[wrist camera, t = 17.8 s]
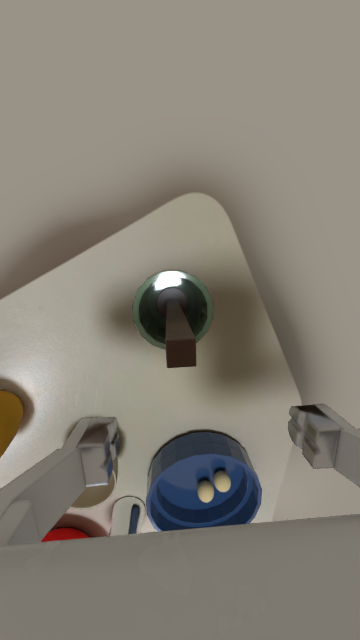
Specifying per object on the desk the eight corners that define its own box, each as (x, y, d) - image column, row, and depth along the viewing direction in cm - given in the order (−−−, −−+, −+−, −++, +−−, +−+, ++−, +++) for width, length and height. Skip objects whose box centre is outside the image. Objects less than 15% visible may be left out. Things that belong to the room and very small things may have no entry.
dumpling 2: (236, 482, 34) (229, 491, 32) (226, 489, 35) (218, 499, 33) (225, 464, 36) (217, 471, 34) (216, 472, 37) (207, 480, 35)
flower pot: (57, 429, 33) (27, 470, 26) (110, 407, 32) (95, 442, 25) (85, 471, 35) (65, 520, 28) (136, 451, 35) (128, 495, 28)
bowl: (251, 425, 35) (264, 449, 30) (247, 506, 39) (258, 539, 34) (145, 433, 34) (142, 459, 29) (152, 516, 38) (150, 551, 33)
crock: (197, 272, 29) (213, 269, 19) (198, 325, 30) (212, 347, 21) (142, 274, 28) (129, 272, 19) (146, 328, 30) (136, 352, 20)
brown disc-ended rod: (185, 286, 28) (228, 304, 9) (186, 315, 29) (227, 392, 9) (156, 287, 28) (129, 309, 8) (157, 317, 29) (137, 399, 9)
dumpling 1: (204, 505, 32) (191, 490, 35) (209, 508, 34) (197, 494, 36) (214, 487, 34) (201, 474, 36) (219, 491, 35) (206, 478, 37)
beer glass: (153, 513, 38) (144, 661, 23) (121, 527, 38) (92, 681, 24) (136, 489, 36) (116, 630, 22) (104, 503, 37) (61, 652, 22)
